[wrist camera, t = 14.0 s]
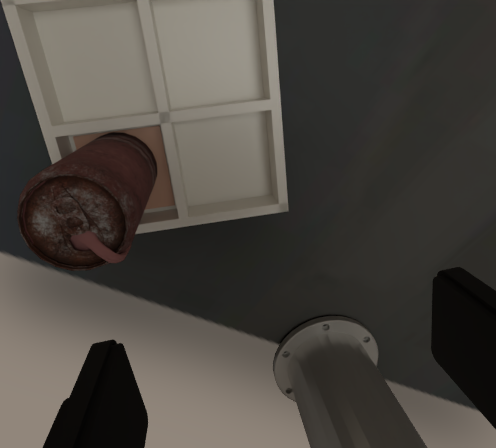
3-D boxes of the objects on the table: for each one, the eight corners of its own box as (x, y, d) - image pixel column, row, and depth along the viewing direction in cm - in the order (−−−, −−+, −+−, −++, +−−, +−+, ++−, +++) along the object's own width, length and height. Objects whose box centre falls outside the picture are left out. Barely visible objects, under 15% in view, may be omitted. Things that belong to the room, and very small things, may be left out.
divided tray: (280, 199, 36) (288, 211, 33) (88, 227, 34) (77, 242, 31) (262, -21, 29) (270, -34, 26) (21, 2, 28) (-2, -8, 24)
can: (135, 214, 34) (99, 298, 21) (71, 173, 32) (-14, 238, 19) (174, 162, 33) (160, 217, 20) (110, 116, 30) (47, 143, 18)
